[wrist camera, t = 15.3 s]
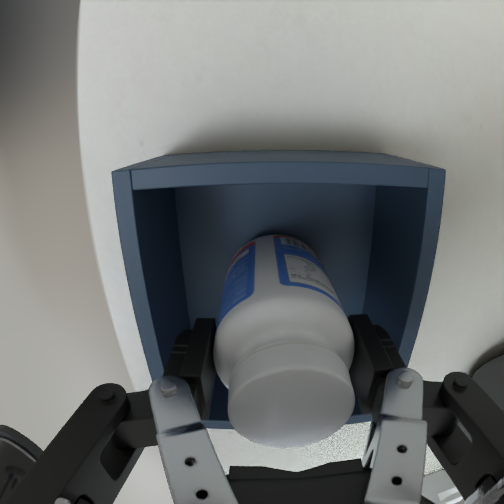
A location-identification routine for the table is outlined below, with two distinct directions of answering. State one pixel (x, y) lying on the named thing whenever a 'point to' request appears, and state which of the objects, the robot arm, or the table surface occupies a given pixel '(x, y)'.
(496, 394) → the alarm clock
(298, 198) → the open box
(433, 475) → the white slotted bracket
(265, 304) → the pill bottle
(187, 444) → the robot arm
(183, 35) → the table surface
